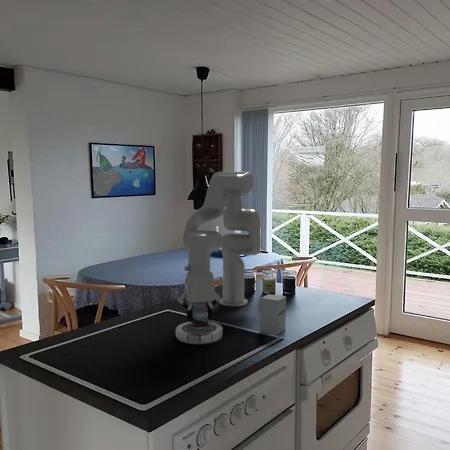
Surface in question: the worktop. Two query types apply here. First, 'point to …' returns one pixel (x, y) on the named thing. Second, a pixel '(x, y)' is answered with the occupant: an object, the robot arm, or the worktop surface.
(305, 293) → the worktop surface
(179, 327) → the grey segmented ring
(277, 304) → the supplement box
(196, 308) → the beverage can
